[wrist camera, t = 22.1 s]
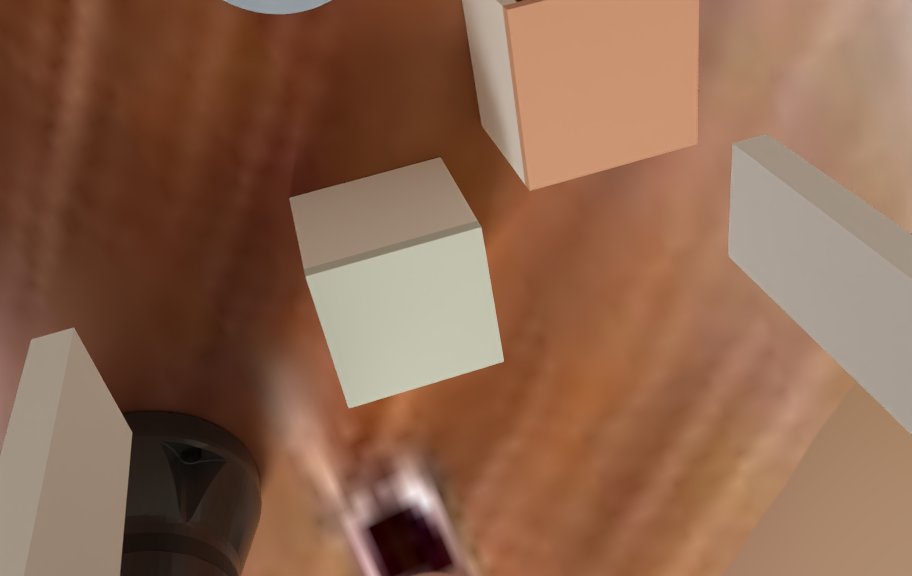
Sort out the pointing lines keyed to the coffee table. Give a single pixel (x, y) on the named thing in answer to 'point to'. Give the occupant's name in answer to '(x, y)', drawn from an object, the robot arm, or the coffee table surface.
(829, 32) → the coffee table surface
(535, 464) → the coffee table surface
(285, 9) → the dish
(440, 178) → the pale green cube
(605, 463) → the coffee table surface
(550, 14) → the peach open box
